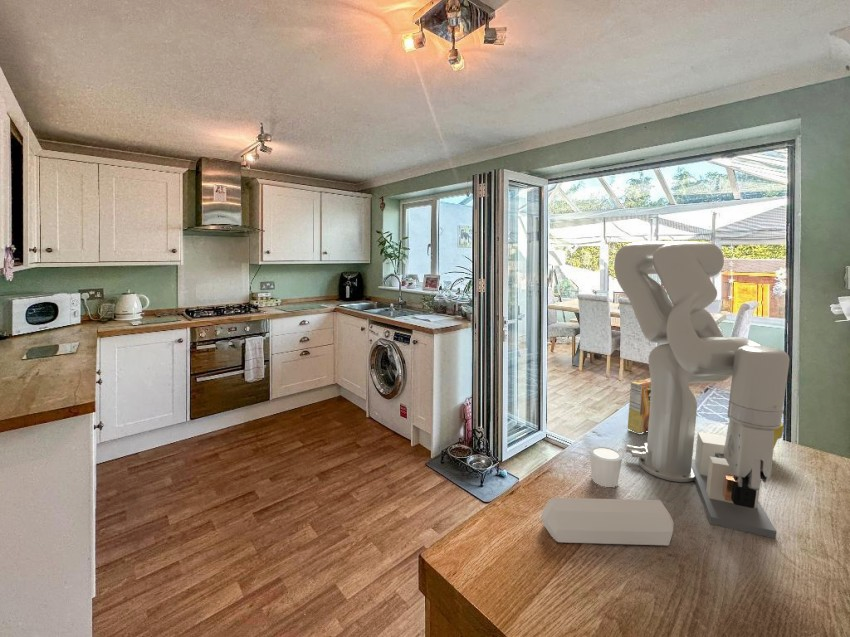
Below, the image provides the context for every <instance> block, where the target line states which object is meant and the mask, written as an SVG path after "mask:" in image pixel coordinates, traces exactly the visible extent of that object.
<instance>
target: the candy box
mask: <svg viewBox="0 0 850 637" xmlns="http://www.w3.org/2000/svg"><path fill="white" fill-rule="evenodd" d="M629 392H630V393H629V404H628V406H629V407H628V415H627V416H628V418H627V428H628V429H630V430H632V431H634V432H636V433H642V432H646V431H648V427H649V413H650V397H651V379H650V377H649V378H645V379H640V380H639V379H638V380H635V381H632V382H631V381H630V391H629Z"/></svg>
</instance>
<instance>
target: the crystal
mask: <svg viewBox="0 0 850 637" xmlns="http://www.w3.org/2000/svg"><path fill="white" fill-rule="evenodd" d="M541 520H542V525H543V526H544V527H545V529H546V530H547V532H548V533H549V535H550V536H551V538H552V537H553V538H554V539H555V540H554V539H553V538H552V539H553V540H554V541H556V542H557V543H569V544H571V543H572V544H573V543H575V544H577V543H578V544H579V543H580V544H608V545H611V544H613V545H643V546H644V545H646V546H647V545H649V546H669V545H670V542H671V539H672V537H673V532H674V521H673V518H672V516H671V514H670V512H669V511H668V510H667V508H666V506H665V505H664V503H663V502H662V500H661V499H626V498H624V499H623V498H622V499H621V498H577V497H574V498H572V497H552V498H549V499H548V501H547V503H546V504H545V506H544V508H543V509H542V512H541Z"/></svg>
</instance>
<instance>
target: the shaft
mask: <svg viewBox="0 0 850 637" xmlns="http://www.w3.org/2000/svg"><path fill="white" fill-rule="evenodd" d="M715 457H717V458H723V459H725V456H724V454H721V453H715ZM733 481H735V480H734V476H732V475H725V478H724V487H723V496H724V498H725V500H728V501H732V499H731V495H732V487H733ZM732 502H733V501H732Z"/></svg>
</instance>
